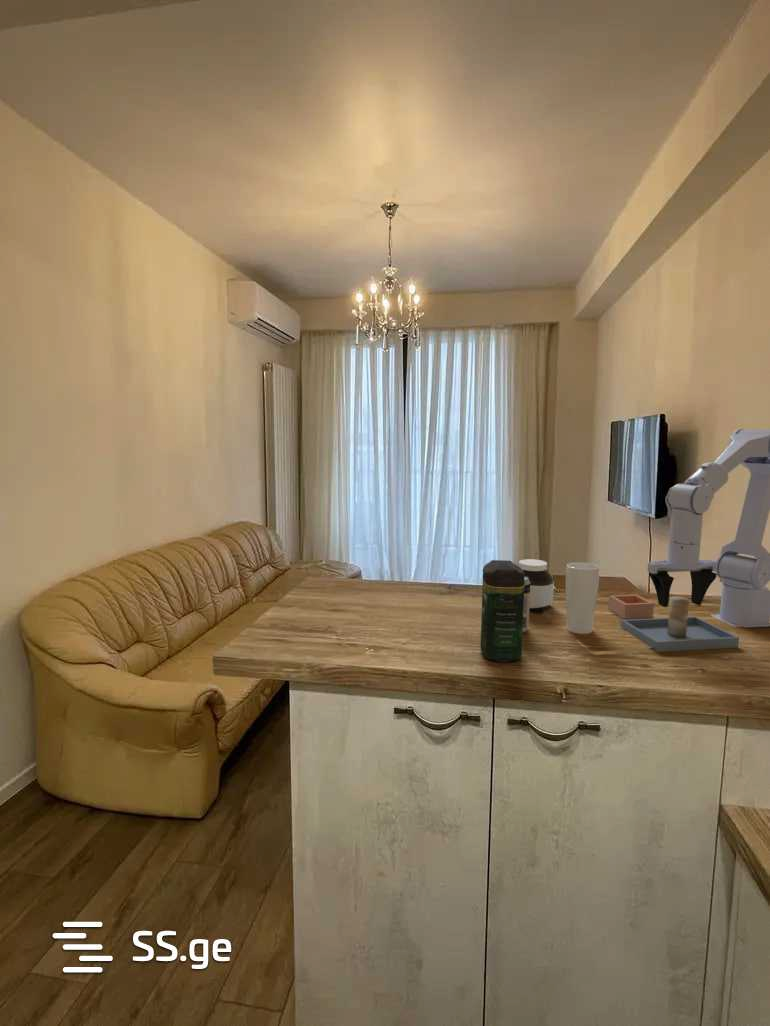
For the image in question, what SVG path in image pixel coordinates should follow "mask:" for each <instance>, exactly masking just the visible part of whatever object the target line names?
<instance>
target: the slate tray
mask: <svg viewBox="0 0 770 1026" xmlns="http://www.w3.org/2000/svg"><path fill="white" fill-rule="evenodd" d="M668 621H669V617H655V618H637V619H621V620H620V627H621V628H622V629H623V630H625V631H627V632H628V633H630V634H632V635H633V636H635V637H636V638H638V639H639V640H641V641H642V642H644V643H646V644H647V645H648V646H650V649H651V650H652V651H654V652H655V653H665V652H685V651H698V650H700V651H701V650H702V651H703V650H717V649H718V650H719V649H734V648H739V644H740V642H739V641H740V637H739V636H736V635H734V634H732V633H731V632H729V631H726V630H725V629H722V628H721V627H718V626H716V625H714V624H712V623H710V622H708V621H706V620H705V619H702V618H700V617H698V616H696V615H695V616H688V619H687V631H686V637H685V638H676V637H672V636H669V635H668Z"/></svg>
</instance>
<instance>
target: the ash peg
mask: <svg viewBox="0 0 770 1026" xmlns="http://www.w3.org/2000/svg"><path fill="white" fill-rule="evenodd" d="M689 606H690V600H689V598H687V597H685V596H684V597H683V596H676V595H675V596H669V608H668V609H669V611H668V612H669V613H668V618H669V621H668V635H669V636H672V637H676V638H685V637H686V631H687V619H688V617H689Z"/></svg>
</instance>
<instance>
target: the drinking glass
mask: <svg viewBox="0 0 770 1026" xmlns="http://www.w3.org/2000/svg"><path fill="white" fill-rule="evenodd" d="M565 571H566V572H565V598H566V600H565V603H566V605H565V606H566V630H568V631H569V632H571V633H573V634H579V635H589V634H591V633H592V632H593V629H594V627H593V626H594V619H595V618H594V617H595V611H596V605H597V599H598V598H597V597H598V591H599V583H600V566H599V565H597V564H595V563H591V562H582V561H574V562H569V563H567V564H566V569H565Z"/></svg>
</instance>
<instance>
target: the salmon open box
mask: <svg viewBox="0 0 770 1026" xmlns="http://www.w3.org/2000/svg"><path fill="white" fill-rule="evenodd" d="M654 604H655V603H654V602H652V601H650V600H648V599H646V598H644V597H642V596H640V595H638V594H619V595H618V594H616V595H614V594H612V595H608V607H607V610H608V611H610V612H611V613H613V614H615V615H616V616H619V617H620V618H621V619H622V620H631V619H651V618H653V617H654V606H655V605H654Z"/></svg>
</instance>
